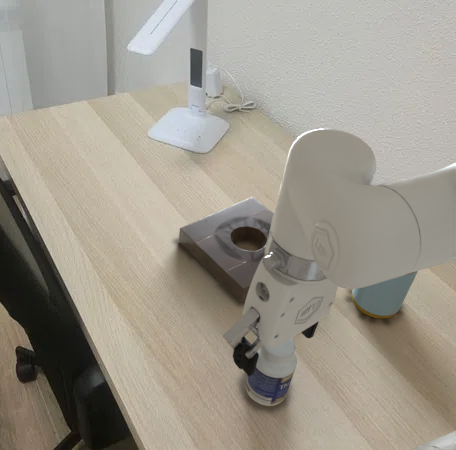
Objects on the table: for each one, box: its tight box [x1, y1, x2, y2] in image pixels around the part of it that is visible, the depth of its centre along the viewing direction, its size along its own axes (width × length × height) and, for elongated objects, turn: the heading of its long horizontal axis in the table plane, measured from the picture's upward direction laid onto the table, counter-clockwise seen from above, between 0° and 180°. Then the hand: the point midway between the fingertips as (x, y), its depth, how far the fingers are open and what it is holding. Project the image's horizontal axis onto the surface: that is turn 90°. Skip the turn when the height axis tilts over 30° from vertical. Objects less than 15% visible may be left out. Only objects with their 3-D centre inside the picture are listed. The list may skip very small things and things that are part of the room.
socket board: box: [178, 196, 274, 303], centre depth 90 cm, size 16×16×3 cm
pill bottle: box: [244, 337, 298, 407], centre depth 68 cm, size 5×5×10 cm
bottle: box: [351, 271, 419, 319], centre depth 78 cm, size 7×7×15 cm
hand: (273, 347), depth 67 cm, fingers open, 9 cm apart
